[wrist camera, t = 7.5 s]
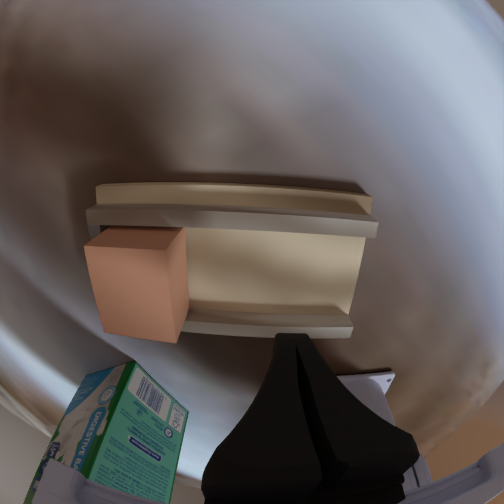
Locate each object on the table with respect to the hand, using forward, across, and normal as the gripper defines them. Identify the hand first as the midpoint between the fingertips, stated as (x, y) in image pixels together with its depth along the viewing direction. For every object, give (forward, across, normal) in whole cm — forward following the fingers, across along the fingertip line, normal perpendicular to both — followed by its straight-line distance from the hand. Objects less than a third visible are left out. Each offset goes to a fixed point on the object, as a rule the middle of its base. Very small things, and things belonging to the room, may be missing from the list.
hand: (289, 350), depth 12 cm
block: (+7, +9, 0) cm, 11 cm away
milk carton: (+9, +14, +17) cm, 24 cm away
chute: (+8, +4, 0) cm, 9 cm away
